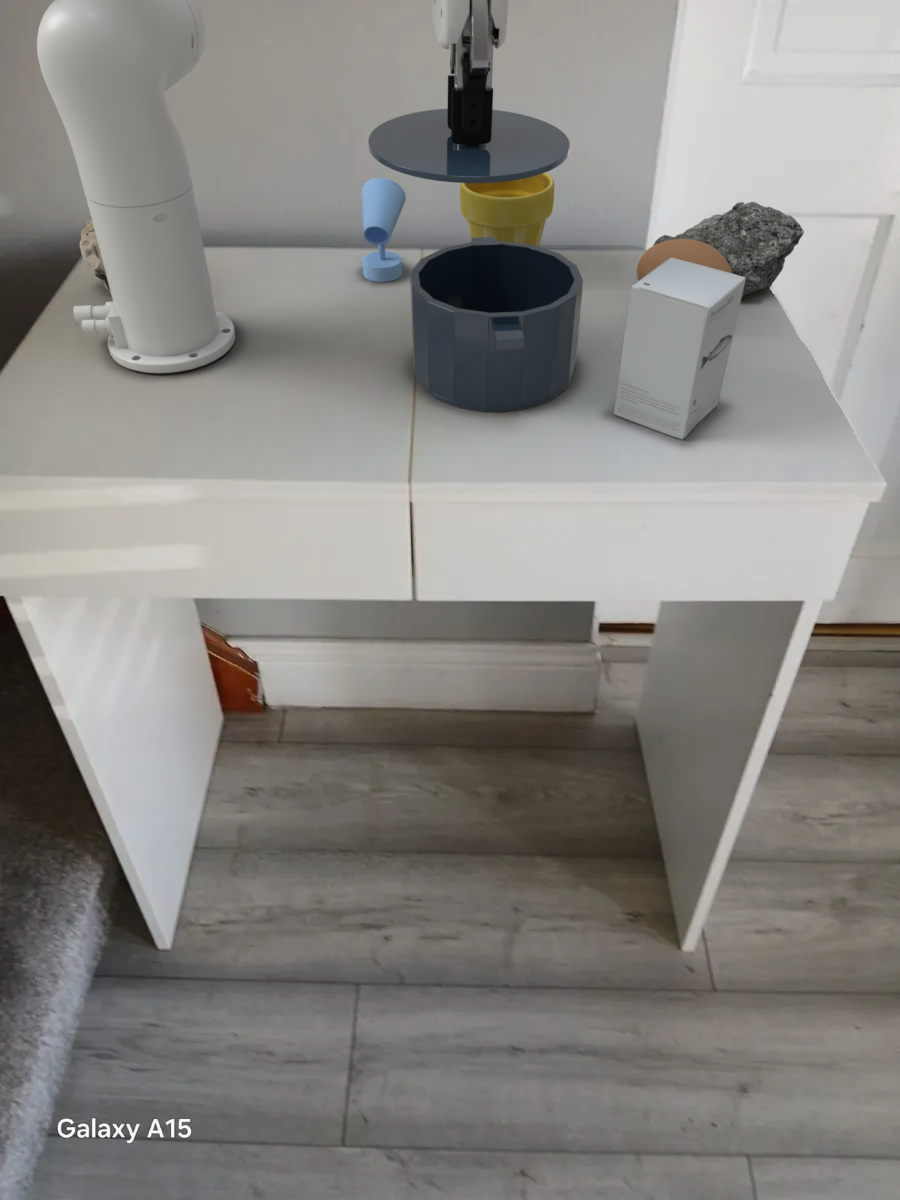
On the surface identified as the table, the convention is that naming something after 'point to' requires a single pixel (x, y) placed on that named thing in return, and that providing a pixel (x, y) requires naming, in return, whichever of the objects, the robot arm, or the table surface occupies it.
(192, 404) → the table surface
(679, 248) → the egg
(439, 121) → the pot lid
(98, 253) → the rock
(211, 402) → the table surface
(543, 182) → the flower pot
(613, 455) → the table surface
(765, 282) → the rock
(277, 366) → the table surface
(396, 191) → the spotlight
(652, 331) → the white packaging box
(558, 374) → the pot
